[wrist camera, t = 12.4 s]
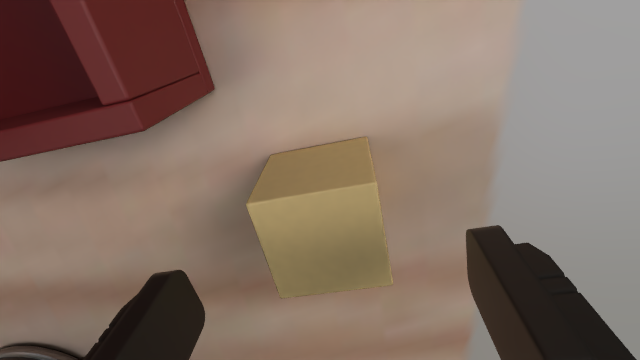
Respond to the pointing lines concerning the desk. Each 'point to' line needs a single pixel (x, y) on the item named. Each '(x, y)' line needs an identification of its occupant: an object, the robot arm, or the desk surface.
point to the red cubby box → (93, 70)
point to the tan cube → (321, 220)
